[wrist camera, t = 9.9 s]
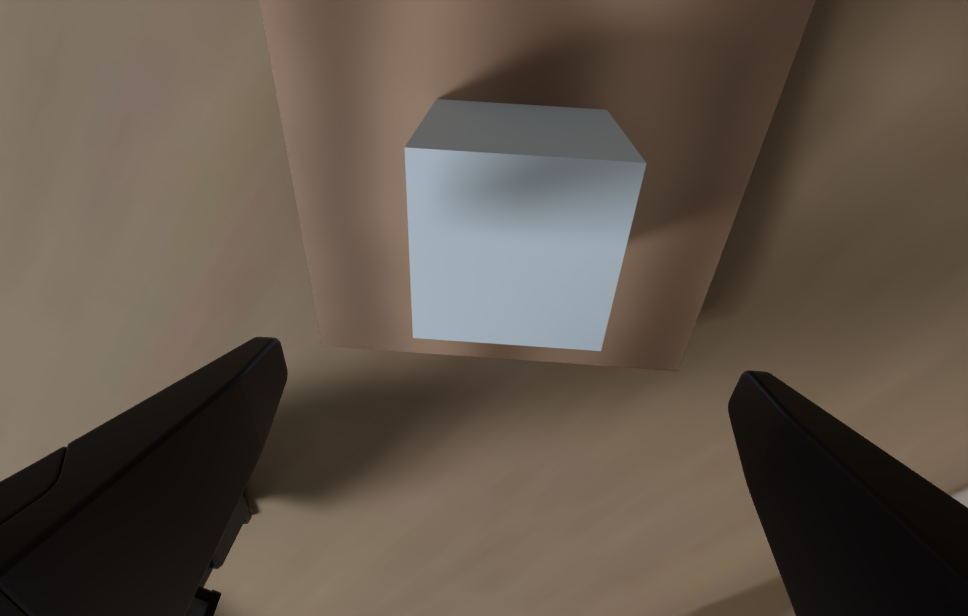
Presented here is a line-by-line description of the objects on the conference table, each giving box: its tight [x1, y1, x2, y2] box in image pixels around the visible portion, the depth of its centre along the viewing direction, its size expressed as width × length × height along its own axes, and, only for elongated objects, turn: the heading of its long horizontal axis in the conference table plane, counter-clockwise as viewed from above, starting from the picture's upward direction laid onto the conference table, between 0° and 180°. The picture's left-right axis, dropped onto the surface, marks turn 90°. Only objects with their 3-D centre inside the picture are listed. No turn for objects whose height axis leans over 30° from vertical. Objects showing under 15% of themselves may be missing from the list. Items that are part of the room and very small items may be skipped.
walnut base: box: [259, 0, 816, 371], centre depth 18 cm, size 16×16×3 cm
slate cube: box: [405, 99, 646, 351], centre depth 15 cm, size 6×6×6 cm
